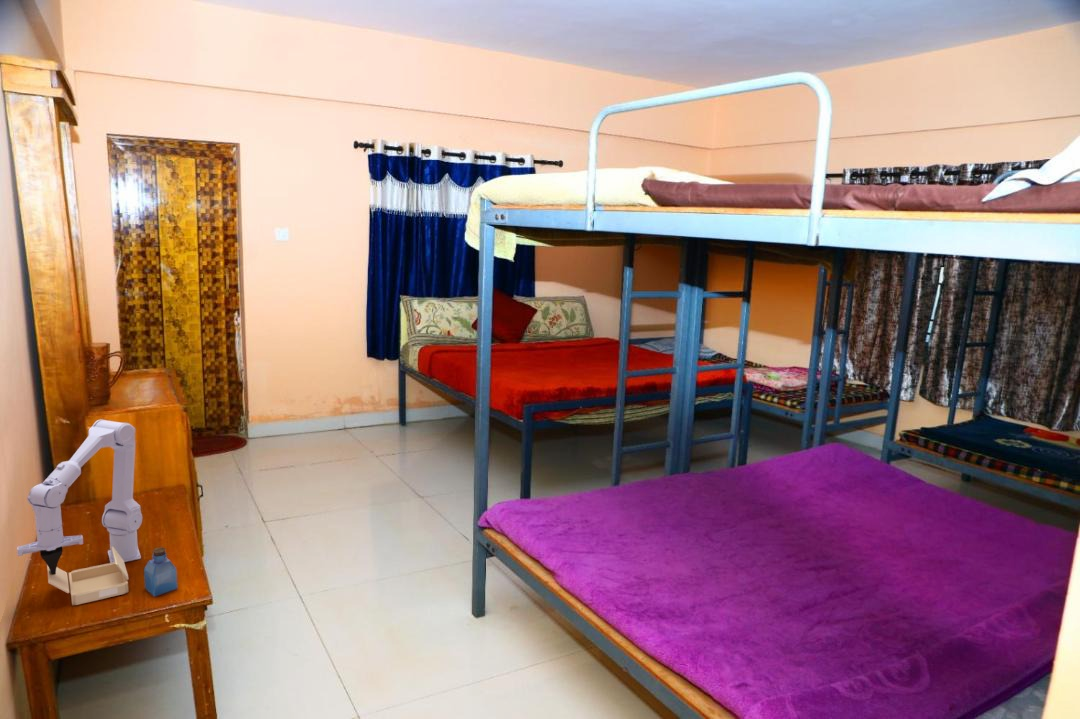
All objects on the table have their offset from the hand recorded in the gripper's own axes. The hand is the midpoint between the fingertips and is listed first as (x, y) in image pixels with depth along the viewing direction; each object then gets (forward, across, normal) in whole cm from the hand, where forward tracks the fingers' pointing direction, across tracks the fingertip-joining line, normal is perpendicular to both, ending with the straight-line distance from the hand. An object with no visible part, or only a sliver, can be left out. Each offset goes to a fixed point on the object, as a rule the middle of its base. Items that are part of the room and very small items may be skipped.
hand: (53, 573), depth 189 cm
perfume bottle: (+8, +25, -9) cm, 27 cm away
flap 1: (+4, +3, 0) cm, 5 cm away
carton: (+7, +10, 0) cm, 12 cm away
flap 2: (+4, +17, 0) cm, 17 cm away
